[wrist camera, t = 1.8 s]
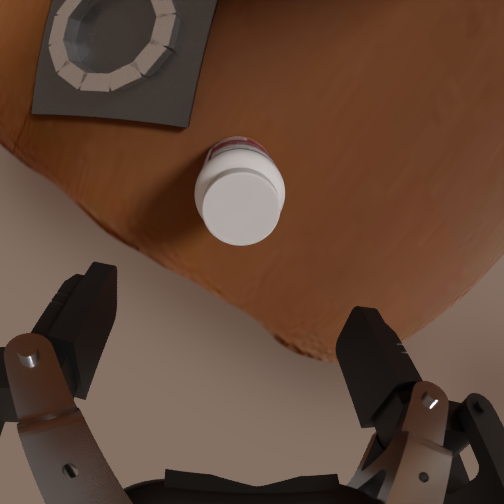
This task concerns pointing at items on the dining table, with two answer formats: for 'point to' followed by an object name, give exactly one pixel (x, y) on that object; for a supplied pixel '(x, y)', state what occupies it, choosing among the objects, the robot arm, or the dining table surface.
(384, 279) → the dining table surface
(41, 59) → the collar
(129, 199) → the dining table surface
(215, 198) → the pill bottle
